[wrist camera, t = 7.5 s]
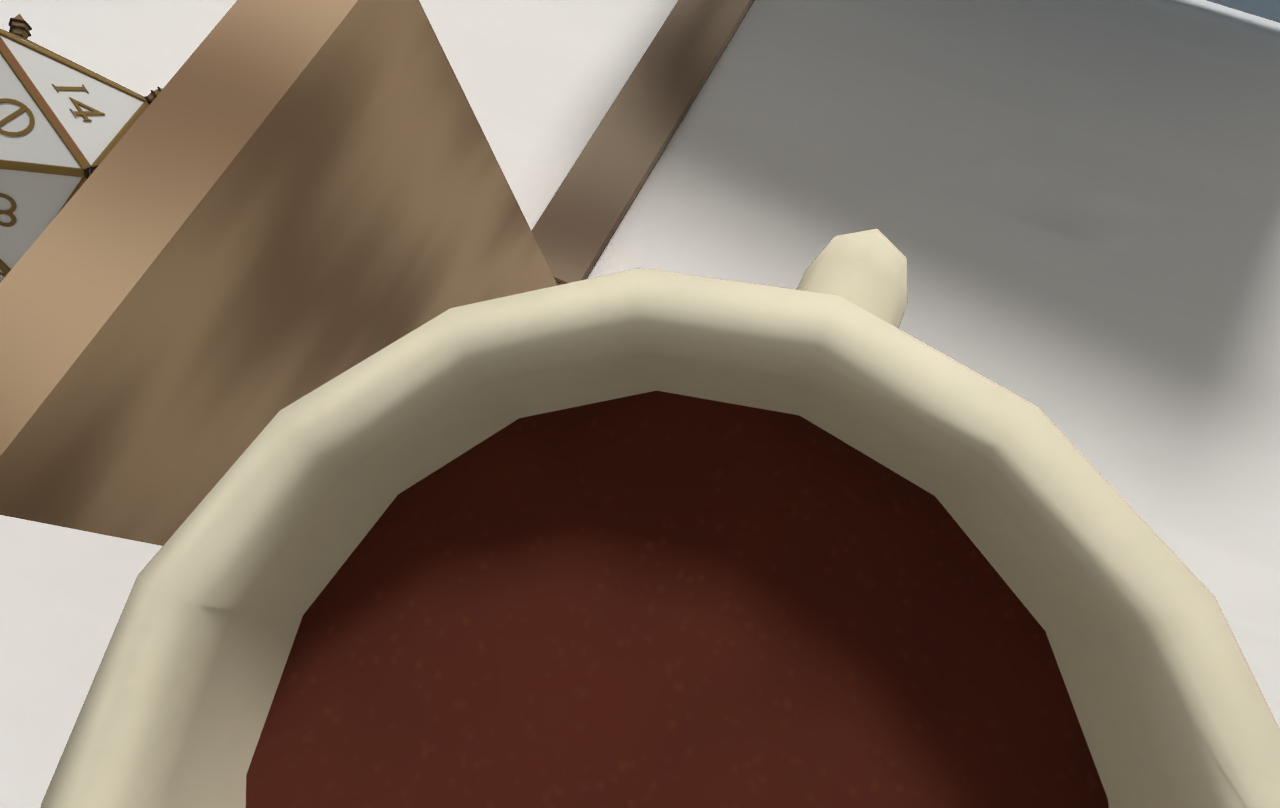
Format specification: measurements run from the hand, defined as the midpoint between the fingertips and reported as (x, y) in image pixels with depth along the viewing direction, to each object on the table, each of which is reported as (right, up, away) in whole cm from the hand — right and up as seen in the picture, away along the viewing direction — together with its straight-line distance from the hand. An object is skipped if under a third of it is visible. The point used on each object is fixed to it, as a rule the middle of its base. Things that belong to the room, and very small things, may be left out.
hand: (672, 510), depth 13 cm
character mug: (+1, -5, +3) cm, 6 cm away
